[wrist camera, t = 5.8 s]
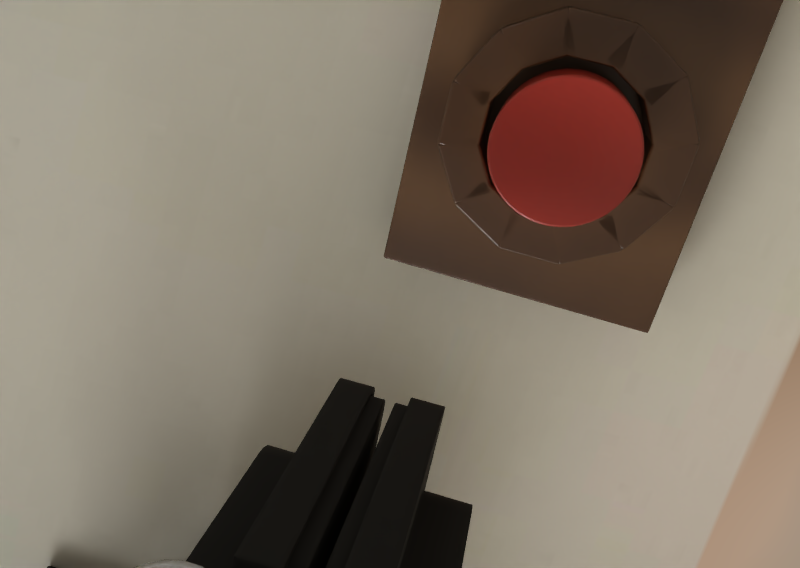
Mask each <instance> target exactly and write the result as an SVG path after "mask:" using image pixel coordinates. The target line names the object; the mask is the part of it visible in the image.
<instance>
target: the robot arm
mask: <svg viewBox="0 0 800 568" xmlns="http://www.w3.org/2000/svg"><path fill="white" fill-rule="evenodd" d="M374 392H375V388H374V387H372V386H368V385H365V384H361V383H357V382H354V381H350V380H347V379H343V378H340V379H339V381H338V382H337V384H336V385H335V387H334V389H333V390H332V392H331V394H330V395H329V397H328V399H327V400H326V402H325V404H324V405H323V407H322V409H321V410H320V412H319V414H318V415H317V417H316V419H315V420H314V422H313V424H312V426H311V427H310V429H309V431H308V432H307V434H306V436H305V437H304V439H303V441H302V442H301V444H300V446H299V447H298V449H297V451H296V452H295V453H293V452H290V451H287V450H283V449H280V448H276V447H273V446H269V445H267V446H265V447H264V448H263V449H262V450H261V451H260V452H259V454H258V455H257V457H256V458H255V460H254V461H253V463H252V464H251V466H250V467H249V469H248V470H247V472H246V473H245V474H244V476H243V477H242V479H241V480H240V482H239V483H238V485H237V486H236V488H235V489H234V491H233V492H232V494H231V495H230V497H229V498H228V500H227V501H226V503H225V504H224V505H223V507H222V508H221V510H220V511H219V513H218V514H217V516H216V517H215V519H214V520H213V522H212V523H211V525H210V526H209V528H208V529H207V531H206V532H205V534H204V535H203V536H202V538H201V539H200V541H199V542H198V544H197V545H196V547H195V548H194V550H193V551H192V553H191V554H190V556H189V557H188V559H187V560H186V561H180V560H160V561H154V562H149V563H144V564H142V565H139V566H137V567H135V568H462V563H463V557H464V552H465V546H466V541H467V535H468V530H469V524H470V519H471V513H472V505H471V504H468V503H464V502H461V501H457V500H454V499H451V498H447V497H444V496H440V495H437V494H434V493H430V492H427V491H425V486H426V482H427V478H428V474H429V470H430V466H431V462H432V458H433V454H434V450H435V446H436V442H437V438H438V434H439V430H440V426H441V422H442V418H443V414H444V410H445V407H444V406H440V405H437V404H433V403H430V402H426V401H422V400H419V399H415V398H411V399H410V401H409V404H408V406H405V405H402V404H398V403H395V404H394V407H393V409H392V411H391V414H390V416H389V418H388V421H387V423H386V426H385V428H384V430H383V433H382V435H381V437H380V440H379V442H378V444H377V440H378V435H379V431H380V426H381V421H382V416H383V411H384V406H385V400H384V399H380V398H377V397H374ZM376 445H377V447H376Z"/></svg>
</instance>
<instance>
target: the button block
mask: <svg viewBox="0 0 800 568" xmlns="http://www.w3.org/2000/svg"><path fill="white" fill-rule="evenodd" d="M782 2H783V0H442V1H441V6H440V10H439V15H438V19H437V23H436V28H435V32H434V37H433V41H432V45H431V50H430V54H429V59H428V63H427V68H426V72H425V76H424V81H423V85H422V90H421V94H420V98H419V103H418V107H417V112H416V116H415V121H414V125H413V129H412V134H411V138H410V143H409V147H408V151H407V156H406V160H405V165H404V169H403V173H402V178H401V182H400V187H399V191H398V196H397V200H396V204H395V209H394V213H393V218H392V222H391V226H390V231H389V235H388V240H387V244H386V248H385V253H384V257H385V258H388V259H391V260H395V261H398V262H402V263H405V264H409V265H412V266H416V267H419V268H422V269H426V270H429V271H433V272H436V273H440V274H443V275H447V276H450V277H454V278H457V279H461V280H464V281H468V282H471V283H475V284H478V285H482V286H485V287H489V288H492V289H496V290H499V291H503V292H506V293H510V294H513V295H517V296H520V297H524V298H527V299H531V300H534V301H538V302H541V303H545V304H548V305H552V306H555V307H559V308H562V309H566V310H569V311H573V312H576V313H580V314H583V315H587V316H590V317H594V318H597V319H600V320H604V321H607V322H611V323H614V324H618V325H621V326H625V327H628V328H632V329H635V330H639V331H642V332H646V333H648V331H649V329H650V327H651V324H652V322H653V319H654V317H655V314H656V312H657V309H658V307H659V305H660V302H661V300H662V297H663V295H664V292H665V290H666V287H667V285H668V282H669V280H670V277H671V275H672V273H673V270H674V268H675V265H676V263H677V260H678V258H679V255H680V253H681V250H682V248H683V246H684V243H685V241H686V238H687V236H688V233H689V231H690V228H691V226H692V223H693V221H694V219H695V216H696V214H697V211H698V209H699V206H700V204H701V201H702V199H703V196H704V194H705V192H706V189H707V187H708V184H709V182H710V179H711V177H712V174H713V172H714V169H715V167H716V164H717V162H718V160H719V157H720V155H721V152H722V150H723V147H724V145H725V142H726V140H727V137H728V135H729V133H730V130H731V128H732V125H733V123H734V120H735V118H736V115H737V113H738V110H739V108H740V106H741V103H742V101H743V98H744V96H745V93H746V91H747V88H748V86H749V83H750V81H751V79H752V76H753V74H754V71H755V69H756V66H757V64H758V61H759V59H760V56H761V54H762V51H763V49H764V47H765V44H766V42H767V39H768V37H769V34H770V32H771V29H772V27H773V24H774V22H775V20H776V17H777V15H778V12H779V10H780V7H781V5H782ZM564 68H572V69H581V70H587V71H590V72H593V73H596V74H598V75H600V76H602V77H604V78H606V79H607V80H609V81H610V82H612V83H613V84H614V85H615V86H616V87H617V88H619V89H620V91H621V92H622V93H623V94H624V95H625V97H626V98H627V100H628V101H629V103H630V104H631V106H632V108H633V109H634V111H635V113H636V114H637V117H638V119H639V121H640V124H641V128H642V131H643V137H644V158H643V164H642V168H641V171H640V174H639V177H638V179H637V181H636V183H635V185H634V187H633V188H632V190H631V192H630V193H629V194H628V195H627V197H626V198H625V199H624V200H623V201H622V202H621V203H620V204H619V205H618V206H617V207H616V208H615V209H613V210H612V211H611V212H609V213H608V214H606V215H605V216H603V217H601V218H599V219H597V220H595V221H592V222H590V223H586V224H583V225H579V226H573V227H552V226H547V225H542V224H539V223H536V222H533V221H531V220H529V219H527V218H525V217H523V216H521V215H520V214H518V213H517V212H515V211H514V210H513V209H512V208H511V207H510V206H509V205H508V204H507V203H506V202H505V201H504V200H503V199H502V197H501V196H500V194H499V193H498V191H497V190H496V188H495V186H494V184H493V182H492V179H491V176H490V173H489V168H488V162H487V146H488V140H489V135H490V131H491V129H492V126H493V123H494V121H495V119H496V117H497V115H498V113H499V111H500V110H501V108H502V106H503V105H504V103H505V102H506V100H507V99H508V97H509V96H510V95H511V94H512V93H513V92H514V91H515V90H516V89H517V88H518V87H519V86H520V85H522V84H523V83H524V82H526V81H527V80H529V79H531V78H533V77H535V76H536V75H539V74H541V73H544V72H547V71H551V70H555V69H564Z"/></svg>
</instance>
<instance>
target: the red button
mask: <svg viewBox="0 0 800 568" xmlns="http://www.w3.org/2000/svg"><path fill="white" fill-rule="evenodd" d="M643 158H644V137H643V131H642V128H641V124H640V121H639V119H638V117H637V114H636V113H635V111H634V109H633V108H632V106H631V104H630V103H629V101H628V100H627V98H626V97H625V95H624V94H623V93H622V92H621V91H620V89H619V88H617V87H616V86H615V85H614V84H613V83H612V82H610V81H609V80H607V79H606V78H604V77H602V76H600V75H598V74H596V73H593V72H590V71H587V70H581V69H572V68H564V69H555V70H551V71H547V72H544V73H541V74H539V75H536V76H535V77H533V78H531V79H529V80H527V81H526V82H524V83H523V84H522V85H520V86H519V87H518V88H517V89H516V90H515V91H514V92H513V93H512V94H511V95H510V96H509V97H508V99H507V100H506V102H505V103H504V105H503V106H502V108H501V110H500V111H499V113H498V115H497V117H496V119H495V121H494V123H493V126H492V129H491V131H490V135H489V140H488V146H487V162H488V168H489V173H490V176H491V179H492V182H493V184H494V186H495V188H496V190H497V191H498V193H499V194H500V196H501V197H502V199H503V200H504V201H505V202H506V203H507V204H508V205H509V206H510V207H511V208H512V209H513V210H514V211H515V212H517V213H518V214H520V215H521V216H523V217H525V218H527V219H529V220H531V221H533V222H536V223H539V224H542V225H547V226H552V227H573V226H579V225H583V224H586V223H590V222H592V221H595V220H597V219H599V218H601V217H603V216H605V215H606V214H608V213H609V212H611V211H612V210H613V209H615V208H616V207H617V206H618V205H619V204H620V203H621V202H622V201H623V200H624V199H625V198H626V197H627V195H628V194H629V193H630V192H631V190H632V188H633V187H634V185H635V183H636V181H637V179H638V177H639V174H640V171H641V168H642V164H643Z"/></svg>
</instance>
